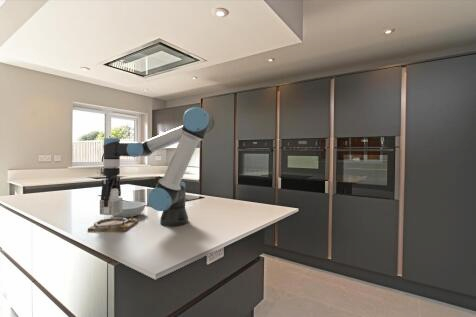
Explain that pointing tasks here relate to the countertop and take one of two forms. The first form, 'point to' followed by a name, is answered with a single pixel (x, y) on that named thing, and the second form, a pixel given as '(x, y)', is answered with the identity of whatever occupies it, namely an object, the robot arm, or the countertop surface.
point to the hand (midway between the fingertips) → (111, 210)
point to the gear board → (113, 225)
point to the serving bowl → (131, 209)
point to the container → (112, 203)
